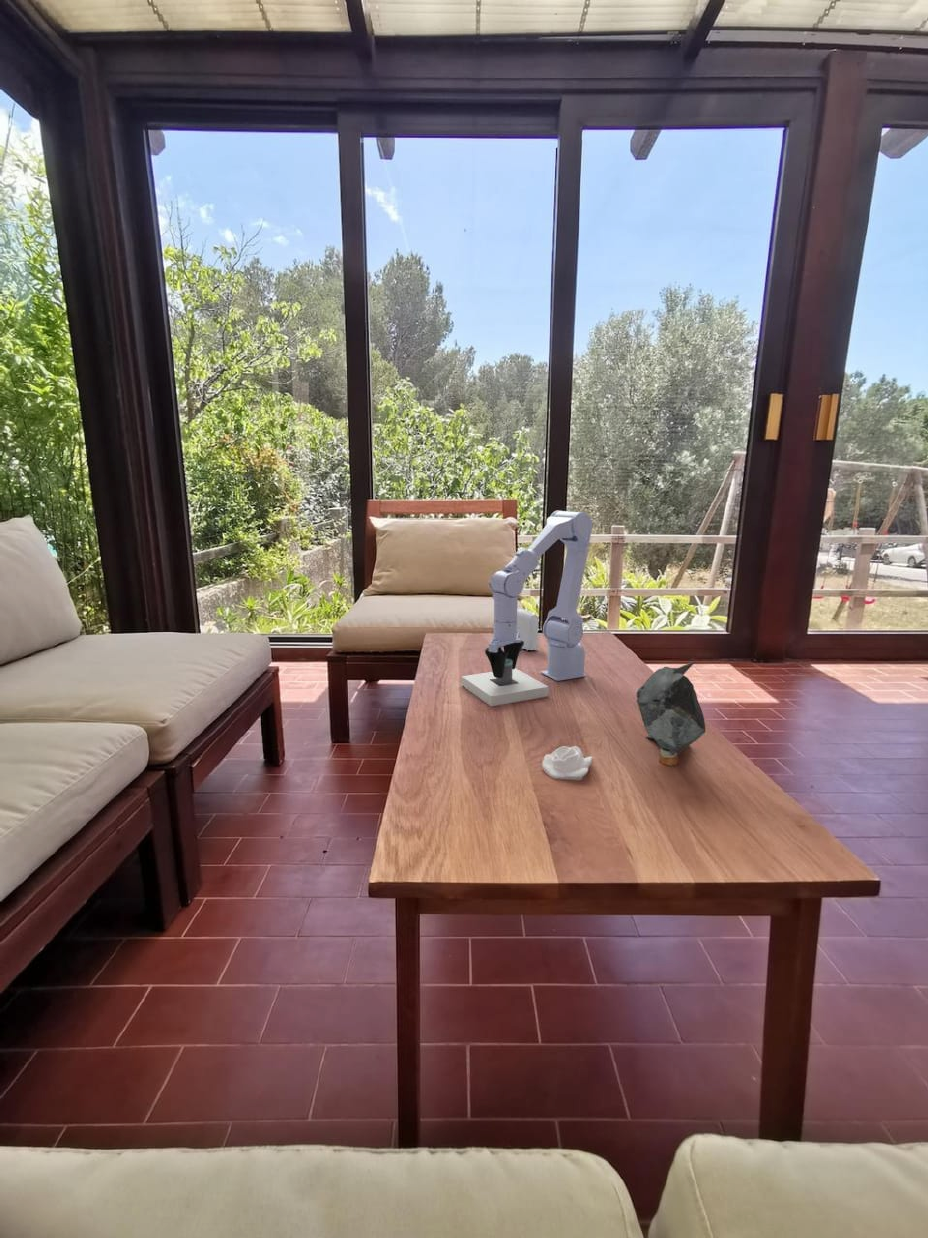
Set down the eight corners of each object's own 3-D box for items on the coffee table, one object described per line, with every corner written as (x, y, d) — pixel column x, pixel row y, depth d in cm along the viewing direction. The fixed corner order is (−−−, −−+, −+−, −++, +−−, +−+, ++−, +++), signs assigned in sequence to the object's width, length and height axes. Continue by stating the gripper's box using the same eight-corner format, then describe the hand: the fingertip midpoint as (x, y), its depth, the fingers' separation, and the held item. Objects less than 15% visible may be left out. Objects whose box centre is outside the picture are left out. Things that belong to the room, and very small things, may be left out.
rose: (607, 755, 106) (559, 764, 102) (605, 778, 107) (558, 787, 103) (578, 733, 115) (533, 740, 111) (577, 754, 116) (532, 762, 112)
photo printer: (506, 645, 191) (507, 607, 188) (516, 643, 194) (517, 606, 191) (529, 652, 183) (531, 613, 180) (539, 650, 186) (540, 611, 183)
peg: (507, 687, 152) (507, 657, 150) (515, 692, 149) (515, 661, 147) (493, 689, 151) (493, 659, 149) (500, 694, 147) (501, 663, 145)
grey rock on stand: (613, 756, 114) (619, 667, 110) (651, 733, 125) (658, 651, 121) (685, 782, 105) (694, 686, 101) (719, 754, 115) (729, 666, 111)
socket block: (515, 677, 160) (515, 668, 160) (548, 696, 146) (548, 686, 146) (461, 685, 153) (461, 676, 153) (490, 706, 139) (491, 696, 139)
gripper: (508, 628, 137) (507, 683, 141) (531, 615, 150) (530, 667, 153) (481, 624, 141) (480, 679, 144) (506, 612, 153) (505, 663, 156)
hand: (504, 672), depth 149 cm, fingers open, 7 cm apart
